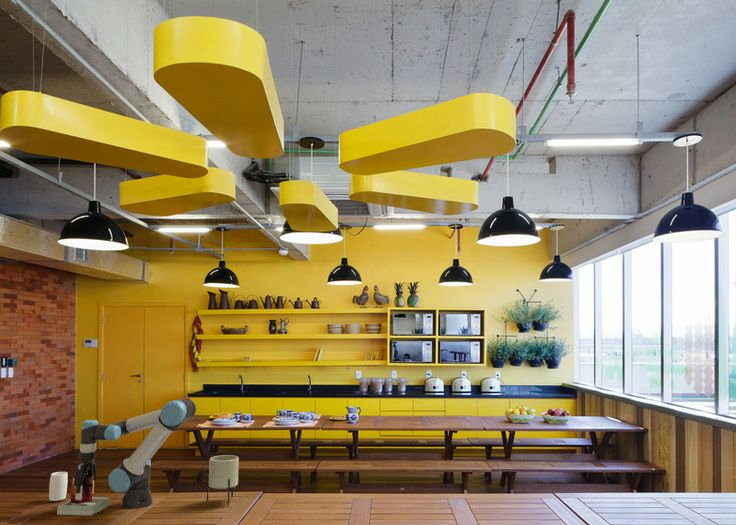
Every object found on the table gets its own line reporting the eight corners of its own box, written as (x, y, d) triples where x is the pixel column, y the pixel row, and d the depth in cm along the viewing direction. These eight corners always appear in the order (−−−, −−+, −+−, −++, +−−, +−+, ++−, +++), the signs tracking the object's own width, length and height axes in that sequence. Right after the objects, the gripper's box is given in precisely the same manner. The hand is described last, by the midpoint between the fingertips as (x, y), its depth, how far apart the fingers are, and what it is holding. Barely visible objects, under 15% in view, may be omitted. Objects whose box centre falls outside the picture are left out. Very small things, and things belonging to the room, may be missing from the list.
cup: (44, 502, 298) (46, 474, 299) (55, 498, 306) (57, 471, 308) (58, 503, 296) (60, 475, 298) (69, 499, 304) (71, 471, 306)
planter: (243, 500, 304) (245, 456, 307) (225, 508, 290) (226, 462, 293) (221, 497, 310) (222, 453, 313) (201, 504, 296) (203, 459, 299)
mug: (90, 504, 280) (92, 479, 282) (65, 503, 283) (67, 478, 284) (102, 499, 290) (104, 475, 291) (78, 497, 292) (80, 473, 294)
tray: (109, 505, 293) (109, 497, 293) (92, 515, 277) (92, 507, 278) (75, 504, 294) (76, 496, 295) (57, 514, 278) (57, 506, 279)
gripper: (92, 446, 301) (89, 490, 298) (67, 455, 278) (64, 502, 276) (106, 447, 300) (103, 490, 297) (82, 456, 278) (78, 503, 275)
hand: (84, 496), depth 287 cm, fingers closed on mug, 10 cm apart
